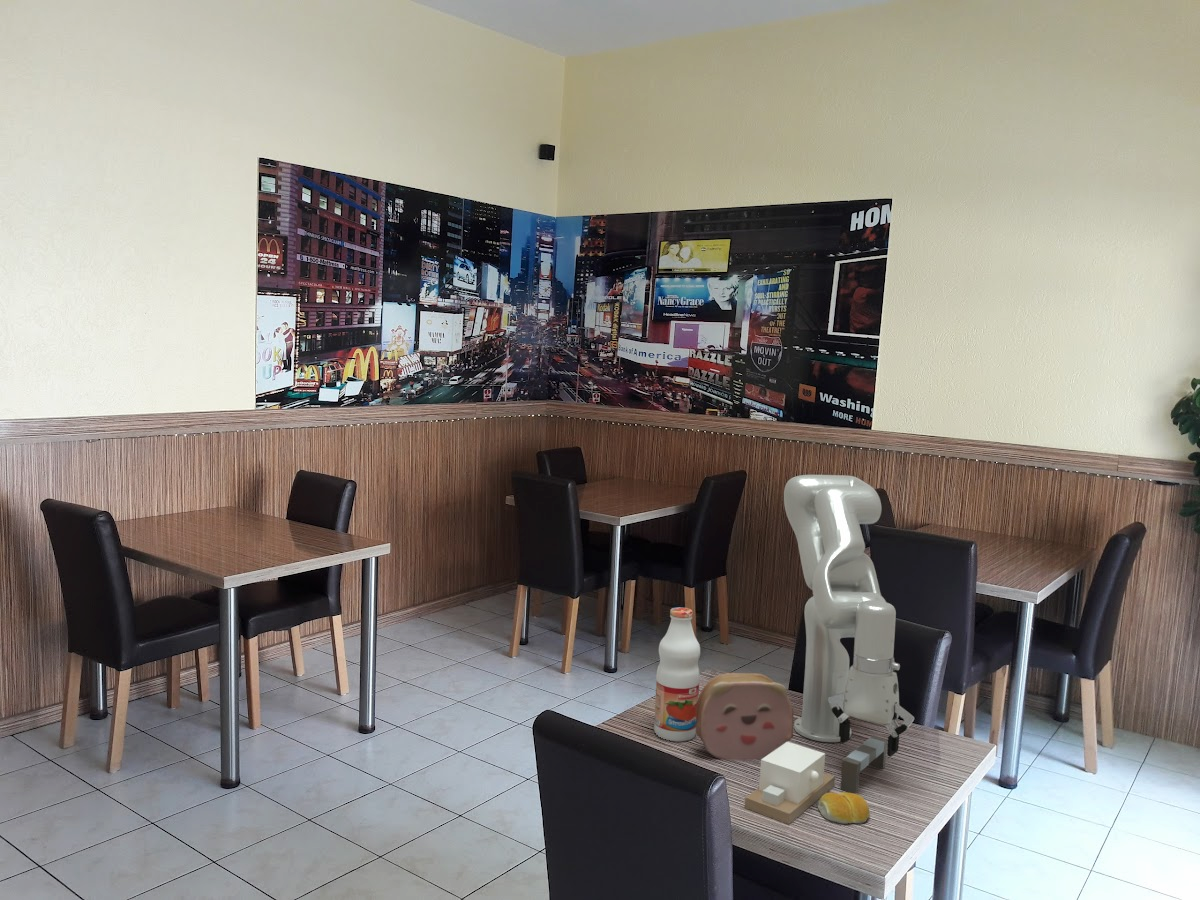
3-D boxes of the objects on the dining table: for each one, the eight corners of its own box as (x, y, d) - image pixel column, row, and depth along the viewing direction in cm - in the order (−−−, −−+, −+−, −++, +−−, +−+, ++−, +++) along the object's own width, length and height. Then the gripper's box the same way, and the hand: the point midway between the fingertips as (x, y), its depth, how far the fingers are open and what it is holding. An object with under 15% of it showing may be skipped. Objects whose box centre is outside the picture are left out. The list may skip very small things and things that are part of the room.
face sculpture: (698, 761, 191) (702, 683, 190) (691, 747, 198) (695, 671, 196) (792, 760, 194) (797, 683, 192) (782, 746, 200) (787, 671, 199)
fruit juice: (677, 722, 211) (684, 602, 208) (705, 737, 204) (712, 612, 201) (645, 730, 206) (651, 607, 203) (671, 746, 198) (678, 618, 195)
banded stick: (871, 762, 194) (873, 735, 194) (885, 767, 192) (887, 739, 192) (840, 789, 182) (842, 759, 181) (855, 794, 180) (857, 764, 179)
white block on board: (792, 771, 188) (795, 734, 187) (838, 787, 182) (841, 748, 182) (744, 807, 172) (747, 766, 172) (792, 825, 167) (795, 783, 166)
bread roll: (876, 824, 169) (878, 803, 168) (830, 827, 167) (831, 806, 167) (856, 802, 177) (857, 782, 176) (811, 804, 175) (813, 784, 175)
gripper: (922, 669, 182) (917, 754, 183) (839, 650, 192) (834, 731, 194) (909, 677, 176) (904, 765, 177) (824, 658, 186) (819, 741, 188)
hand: (867, 747), depth 185 cm, fingers open, 9 cm apart
